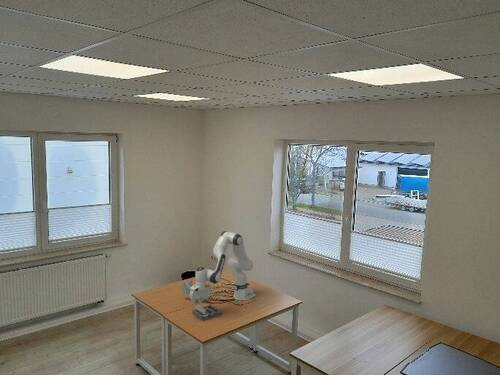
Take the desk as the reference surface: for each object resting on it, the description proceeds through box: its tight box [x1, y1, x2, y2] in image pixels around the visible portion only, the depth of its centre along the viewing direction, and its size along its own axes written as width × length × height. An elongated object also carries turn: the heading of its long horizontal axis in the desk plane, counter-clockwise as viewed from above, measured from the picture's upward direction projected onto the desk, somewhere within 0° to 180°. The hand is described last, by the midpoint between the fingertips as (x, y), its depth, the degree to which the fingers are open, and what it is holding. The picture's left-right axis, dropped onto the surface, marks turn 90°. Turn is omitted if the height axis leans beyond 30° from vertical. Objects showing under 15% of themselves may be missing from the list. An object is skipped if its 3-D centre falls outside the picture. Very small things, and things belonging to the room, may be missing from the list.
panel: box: [195, 304, 206, 316], centre depth 333 cm, size 2×12×7 cm, turn 39°
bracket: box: [181, 280, 209, 305], centre depth 362 cm, size 28×7×20 cm, turn 67°
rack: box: [192, 304, 222, 322], centre depth 337 cm, size 19×17×4 cm
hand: (200, 301), depth 332 cm, fingers closed
